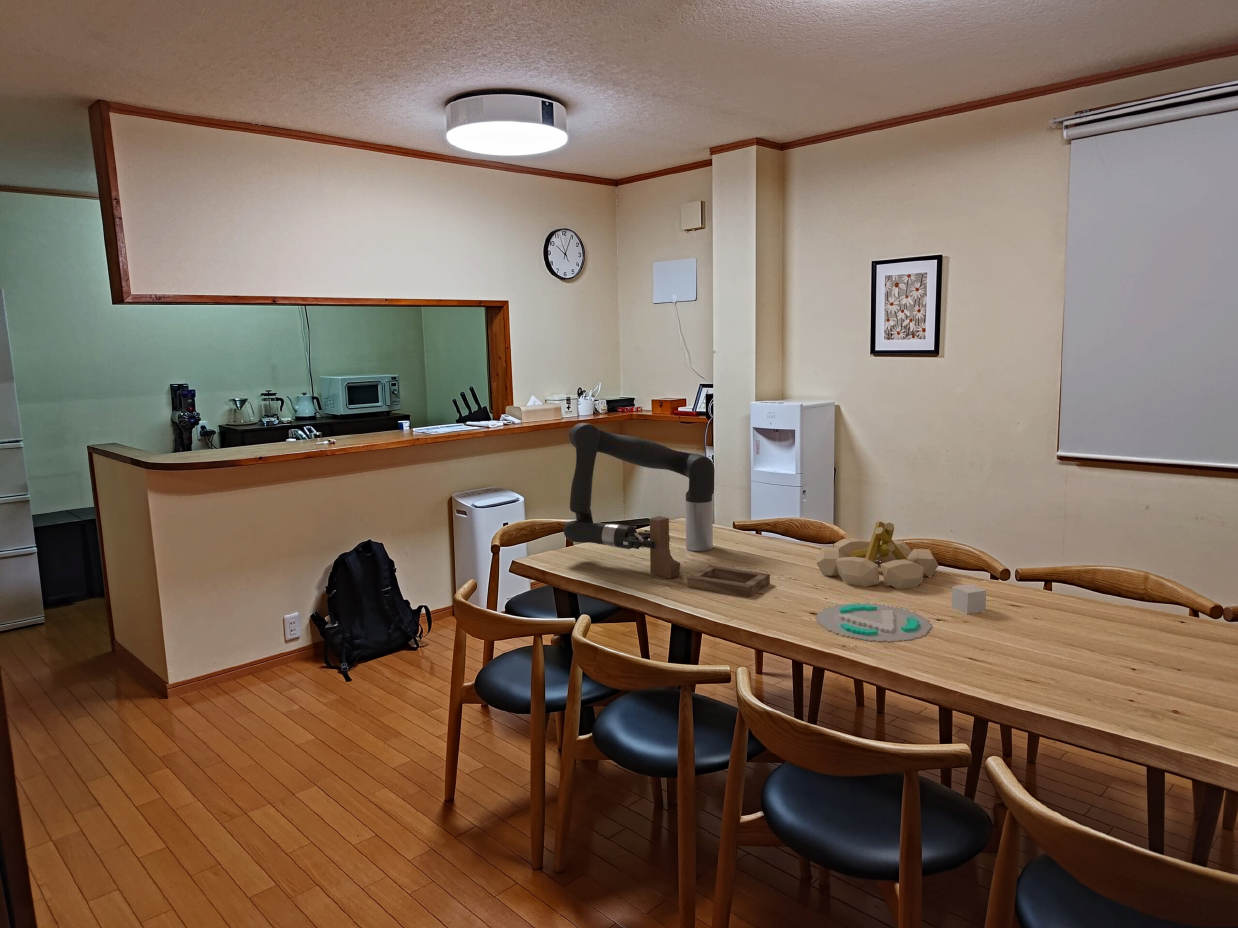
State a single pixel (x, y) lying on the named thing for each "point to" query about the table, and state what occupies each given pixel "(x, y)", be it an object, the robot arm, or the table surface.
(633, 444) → the robot arm
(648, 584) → the table surface
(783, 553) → the table surface
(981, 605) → the gray cube
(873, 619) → the grey flat disc
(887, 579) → the campfire
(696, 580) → the brown rectangular tray
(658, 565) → the wooden block
